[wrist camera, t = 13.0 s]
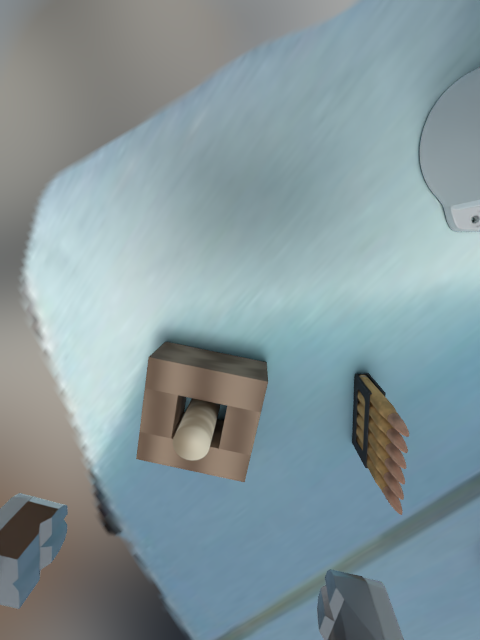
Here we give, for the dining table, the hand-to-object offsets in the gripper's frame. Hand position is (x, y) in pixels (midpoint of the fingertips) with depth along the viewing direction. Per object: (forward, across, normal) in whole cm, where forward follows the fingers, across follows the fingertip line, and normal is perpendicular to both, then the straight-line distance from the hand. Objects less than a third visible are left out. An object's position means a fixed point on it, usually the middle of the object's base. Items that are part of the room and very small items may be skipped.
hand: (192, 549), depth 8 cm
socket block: (+28, +4, +12) cm, 31 cm away
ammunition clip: (+29, -17, +10) cm, 35 cm away
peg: (+28, +4, +12) cm, 31 cm away
